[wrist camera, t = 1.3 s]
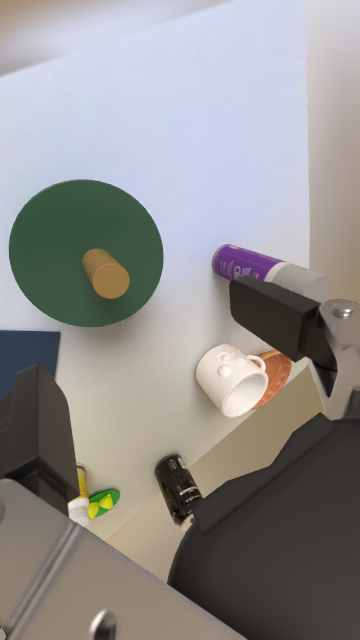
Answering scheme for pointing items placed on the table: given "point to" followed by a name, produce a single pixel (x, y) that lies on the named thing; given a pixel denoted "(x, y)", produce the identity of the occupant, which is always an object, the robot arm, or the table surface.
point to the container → (270, 271)
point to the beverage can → (178, 489)
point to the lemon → (102, 503)
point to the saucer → (273, 374)
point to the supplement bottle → (80, 500)
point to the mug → (232, 379)
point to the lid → (86, 253)
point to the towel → (25, 354)
